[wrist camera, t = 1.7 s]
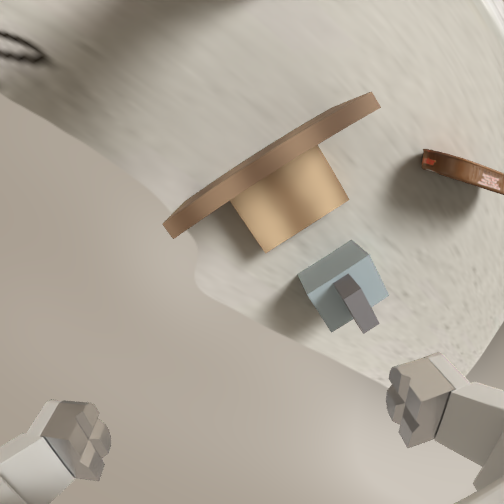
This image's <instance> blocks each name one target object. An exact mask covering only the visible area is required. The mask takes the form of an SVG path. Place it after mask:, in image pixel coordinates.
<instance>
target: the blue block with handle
mask: <svg viewBox="0 0 504 504" xmlns="http://www.w3.org/2000/svg"><path fill="white" fill-rule="evenodd" d="M298 276H299V279H300V281H301V283H302V285H303V287H304V289H305V291H306V294H307V295H308V297H309V298H310V300H311V302H312V303H313V305H314V306H315V308H316V309H317V311H318V312H319V314H320V315H321V317H322V319H323V320H324V322H325V323H326V325H327V326H328V328H329V330H330V331H331V332H333V331H335V330H336V329H338V328H340V327H341V326H343V325H344V324H346V323H348V322H349V321H351V320H352V319H354V320H355V322H356V323H357V325H358V326H359V328H360V329H361V331H362V332H363V334H364V333H365V332H367V331H369V330H370V329H372V328H373V327H375V326H376V325H378V324H379V322H378V320H377V318H376V316H375V314H374V312H373V310H372V308H371V307H373V306H374V305H376V304H377V303H379V302H380V301H382V300H383V299H385V298H386V297H388V296H389V294H388V292H387V290H386V288H385V285H384V283H383V281H382V279H381V277H380V275H379V273H378V271H377V269H376V267H375V265H374V263H373V261H372V259H371V257H370V255H369V254H368V253H367V252H366V251H364V250H363V249H362V248H361V247H360V246H359V245H357V244H356V243H355V242H354V241H352V240H350V241H349V242H347V243H346V244H344V245H343V246H341V247H340V248H338V249H336V250H335V251H333V252H332V253H330V254H329V255H327V256H326V257H324V258H322V259H321V260H319V261H318V262H316V263H315V264H313V265H311V266H310V267H308V268H307V269H305V270H303V271H302V272H300V273H299V274H298Z"/></svg>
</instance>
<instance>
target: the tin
mask: <svg viewBox="0 0 504 504" xmlns="http://www.w3.org/2000/svg"><path fill="white" fill-rule="evenodd" d="M423 151H424V153H423V159H422V169H424V170H428V171H432V172H436V173H438V174H440V175H443V176H446V177H449V178H452V179H456V180H459V181H462V182H465V183H468V184H472V185H475V186H478V187H481V188H484V189H487V190H490V191H493V192H496V193H500V194H503V195H504V173H501V172H499V171H496V170H494V169H491V168H488V167H486V166H483V165H480V164H478V163H475V162H472V161H469V160H466V159H463V158H460V157H456V156H453V155H450V154H446V153H442V152H438V151H433V150H429V149H423Z"/></svg>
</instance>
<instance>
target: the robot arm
mask: <svg viewBox="0 0 504 504" xmlns="http://www.w3.org/2000/svg"><path fill="white" fill-rule="evenodd" d="M389 380H390V381H391V383H392V385H391V387H390V388H389V389H388V390H387V396H386V403H387V409H388V413H389V415H390V417H391V419H392V421H393V422H395V423H397V424H400V429H399V434H400V435H401V437H402V439H403V441H404V443H405V444H406V446H407V448H410V447H413V446H416V445H419V444H422V443H424V442H427V441H430V440H432V439H435V441H437V442H439V443H440V444H442V445H444V446H446V447H448V448H449V449H451V450H453V451H455V452H456V453H458V454H460V455H462V456H464V457H466V458H467V459H469V460H471V461H473V462H475V463H477V464H479V465H481V466H482V469H481V470H480V472H479V474H478V475H477V477H476V478H475V480H474V482H473V484H474V486H475V488H476V490H477V492H475V493H473V494H471V495H470V496H468V497H466V498H464V499H462V500H460V501H458V502H456V503H454V504H504V390H501V389H497V388H494V387H491V386H488V385H485V384H481V383H478V382H472V383H470V382H469V381H468V380H467V379H466V378H465V377H464V375H463V374H462V373H461V372H460V371H459V370H458V369H457V368H456V367H455V366H454V365H453V364H452V363H451V362H450V361H449V360H448V359H447V358H446V357H445V355H444V354H442V353H440V352H437V353H435V354H432V355H429V356H426V357H424V358H421V359H417V360H414V361H411V362H408V363H404V364H401V365H398V366H394V367H392V368H391V370H390V374H389ZM98 416H99V411H98V409H97V408H96V406H95V405H94V404H92V403H87V402H74V401H60V400H49V401H47V402H46V403H45V405H44V406H43V408H42V409H41V411H40V413H39V414H38V416H37V417H36V419H35V421H34V422H33V424H32V425H31V427H30V429H29V430H28V432H27V434H24V433H22V434H21V435H19V436H17V437H16V438H14V439H12V440H11V441H9V442H7V443H6V444H4V445H2V446H1V447H0V504H50V503H51V502H52V501H53V500H54V499H55V498H56V497H57V496H58V495H59V494H60V493H61V492H62V491H63V490H65V489H66V488H67V486H69V485H70V484H71V483H72V482H73V481H74V480H75V478H79V479H86V480H94V481H99V480H100V477H101V474H102V471H103V468H104V465H105V464H104V462H103V460H102V458H103V457H104V456H106V455H107V454H108V453H109V450H110V447H111V436H110V432H109V429H108V427H107V426H106V424H105V423H104V422H102V421H101V420H100V419H98Z"/></svg>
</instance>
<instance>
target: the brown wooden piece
mask: <svg viewBox="0 0 504 504" xmlns="http://www.w3.org/2000/svg"><path fill="white" fill-rule="evenodd" d="M379 108H381V107H380V105H379V103H378V102H377V100H376V98H375V97H374V95H373V93H372V92H369V93H367V94H364V95H362V96H359V97H357V98H354V99H352V100H349V101H347V102H344V103H342V104H340V105H337V106H335V107H332V108H330V109H329V110H327V111H325V112H323V113H322V114H320V115H318V116H316V117H315V118H313V119H311V120H310V121H308V122H306V123H304V124H303V125H301V126H299V127H298V128H296V129H294V130H293V131H291V132H289V133H288V134H286V135H285V136H283V137H281V138H280V139H278V140H276V141H275V142H273V143H272V144H270V145H268V146H267V147H265V148H264V149H262V150H261V151H259V152H257V153H256V154H254V155H253V156H251V157H250V158H248V159H246V160H245V161H243V162H242V163H240V164H239V165H237V166H236V167H234V168H233V169H231V170H230V171H228V172H227V173H225V174H224V175H222V176H221V177H219V178H218V179H216V180H215V181H213V182H212V183H210V184H209V185H208V186H206V187H205V188H203V189H202V190H200V191H199V192H197V193H196V194H195V195H193V196H192V197H190V198H189V199H187V200H186V201H185V202H184V203H183V204H182V205H181V206H180V207H179V208H178V209H177V210H176V211H175V212H174V213H173V214H172V215H171V216H170V217H169V218H168V219H167V220H166V221H165V222H164V223H163V226H164V227H165V228H166V230H167V231H168V232H169V234H170V235H171V237H172V238H173V239H174V238H176V237H177V236H178V235H180V234H181V233H183V232H184V231H186V230H187V229H189V228H190V227H191V226H193V225H194V224H196V223H197V222H199V221H200V220H202V219H203V218H204V217H206V216H207V215H209V214H210V213H212V212H213V211H215V210H216V209H218V208H219V207H221V206H222V205H224V204H225V203H227V202H228V201H230V202H231V204H232V205H233V206H234V208H235V209H236V211H237V212H238V214H239V215H240V217H241V218H242V220H243V221H244V222H245V224H246V225H247V227H248V228H249V230H250V231H251V233H252V234H253V236H254V237H255V239H256V240H257V242H258V243H259V244H260V246H261V247H262V249H263V250H264V252H265V253H267V252H268V251H270V250H271V249H273V248H275V247H276V246H278V245H279V244H281V243H282V242H284V241H286V240H287V239H289V238H290V237H292V236H293V235H295V234H297V233H298V232H300V231H301V230H303V229H304V228H306V227H308V226H309V225H311V224H312V223H314V222H315V221H317V220H318V219H320V218H322V217H323V216H325V215H326V214H328V213H329V212H331V211H333V210H334V209H336V208H337V207H339V206H340V205H342V204H343V203H345V202H347V201H348V200H349V198H348V196H347V195H346V193H345V191H344V189H343V188H342V186H341V184H340V182H339V181H338V179H337V177H336V175H335V174H334V172H333V170H332V168H331V167H330V165H329V163H328V162H327V160H326V158H325V157H324V155H323V153H322V152H321V150H320V148H319V147H318V144H319V143H321V142H323V141H324V140H326V139H328V138H329V137H331V136H333V135H334V134H336V133H338V132H339V131H341V130H343V129H344V128H346V127H348V126H349V125H351V124H353V123H355V122H356V121H358V120H360V119H362V118H363V117H365V116H367V115H368V114H370V113H372V112H374V111H375V110H377V109H379Z"/></svg>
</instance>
